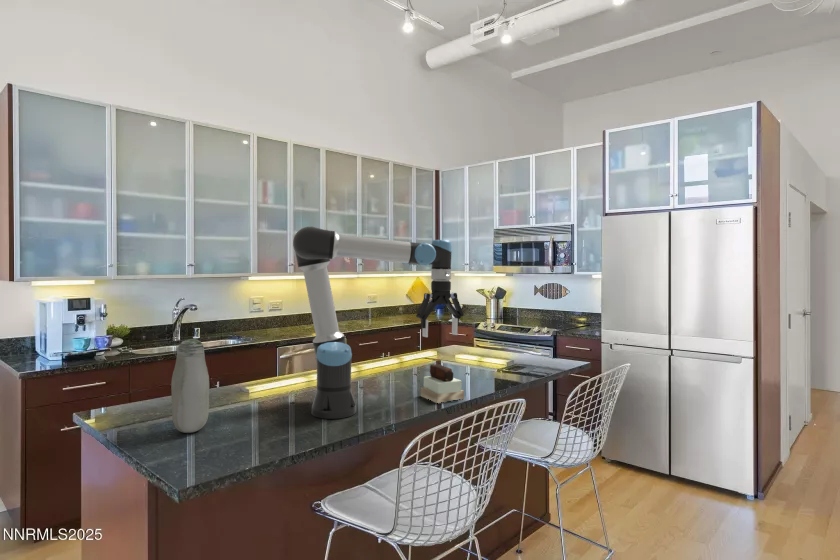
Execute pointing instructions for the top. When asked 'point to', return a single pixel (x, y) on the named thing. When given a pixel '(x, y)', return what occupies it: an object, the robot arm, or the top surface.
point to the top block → (442, 385)
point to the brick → (441, 372)
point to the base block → (441, 395)
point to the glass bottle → (190, 387)
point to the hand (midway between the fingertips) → (440, 335)
